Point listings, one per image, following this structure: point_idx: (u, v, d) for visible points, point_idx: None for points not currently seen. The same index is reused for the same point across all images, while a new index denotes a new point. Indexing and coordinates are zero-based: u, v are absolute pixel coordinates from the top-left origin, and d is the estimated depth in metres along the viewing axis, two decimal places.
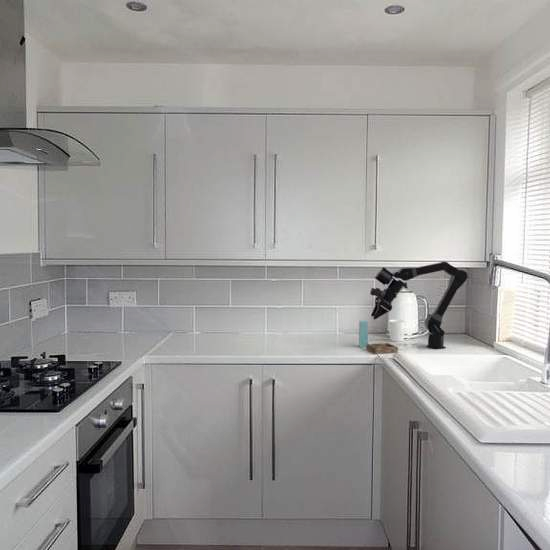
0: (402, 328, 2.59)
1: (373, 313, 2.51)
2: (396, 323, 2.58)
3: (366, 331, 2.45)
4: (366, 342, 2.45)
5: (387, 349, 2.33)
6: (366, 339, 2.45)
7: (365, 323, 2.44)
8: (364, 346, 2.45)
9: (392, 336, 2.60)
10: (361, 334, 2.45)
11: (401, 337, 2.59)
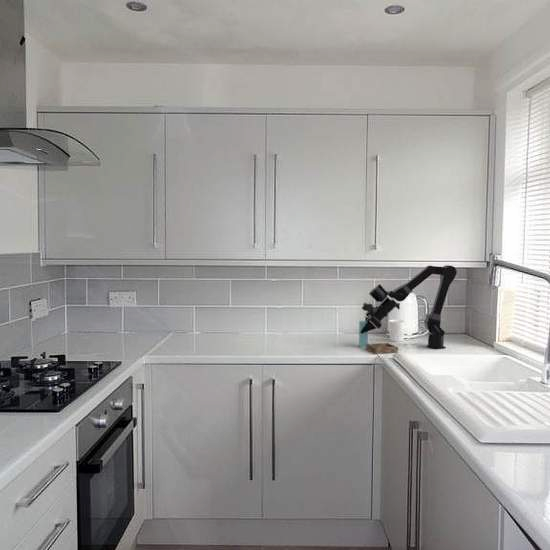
0: (402, 328, 2.59)
1: None
2: (396, 323, 2.58)
3: None
4: (366, 342, 2.45)
5: (387, 349, 2.33)
6: (365, 339, 2.45)
7: (365, 323, 2.44)
8: (364, 346, 2.45)
9: (392, 336, 2.60)
10: (361, 334, 2.45)
11: (401, 337, 2.59)
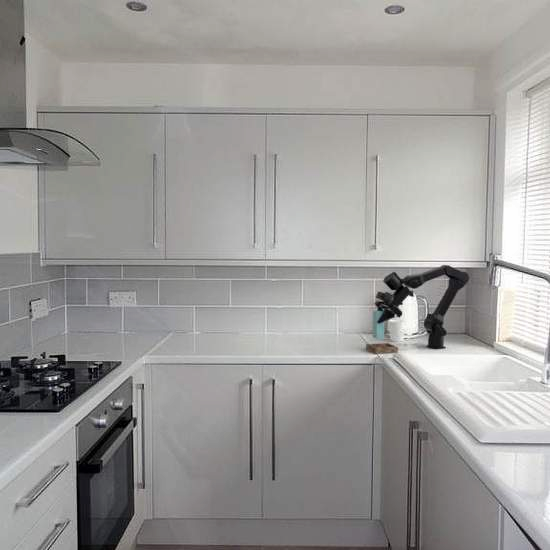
0: (402, 328, 2.59)
1: None
2: (396, 323, 2.58)
3: None
4: (383, 332, 2.35)
5: (387, 349, 2.33)
6: (382, 329, 2.35)
7: (381, 312, 2.35)
8: (381, 337, 2.35)
9: (392, 336, 2.60)
10: (378, 324, 2.35)
11: (401, 337, 2.59)
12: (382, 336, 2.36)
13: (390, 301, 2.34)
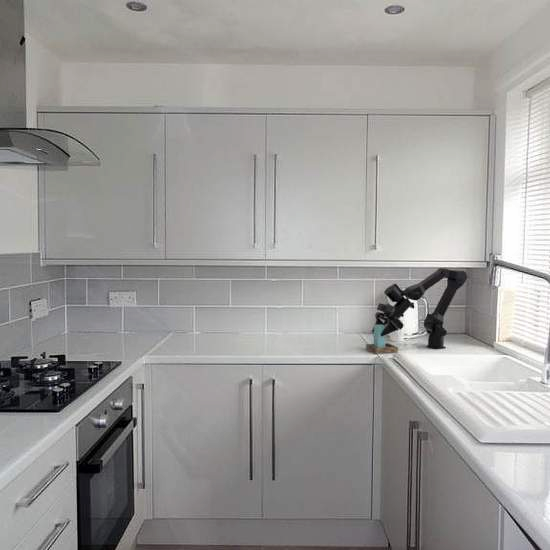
0: (402, 328, 2.59)
1: None
2: None
3: None
4: (383, 346, 2.35)
5: (387, 349, 2.33)
6: (383, 343, 2.35)
7: (383, 326, 2.35)
8: None
9: (392, 336, 2.60)
10: (379, 338, 2.34)
11: (401, 337, 2.59)
12: None
13: (391, 313, 2.34)
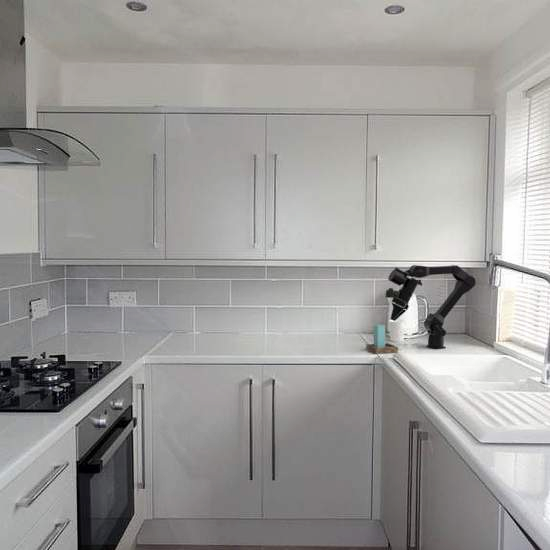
0: (402, 328, 2.59)
1: (394, 317, 2.46)
2: (396, 323, 2.58)
3: (383, 335, 2.35)
4: (383, 346, 2.35)
5: (387, 349, 2.33)
6: (383, 343, 2.35)
7: (382, 326, 2.35)
8: None
9: (392, 336, 2.60)
10: (379, 338, 2.34)
11: (401, 337, 2.59)
12: None
13: (397, 295, 2.40)
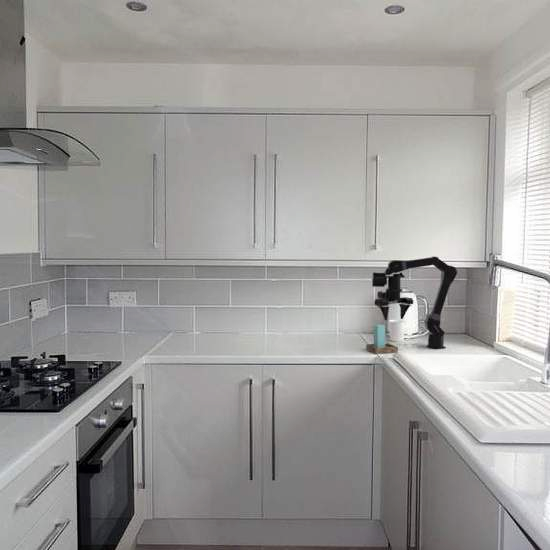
0: (402, 328, 2.59)
1: (401, 315, 2.48)
2: (396, 323, 2.58)
3: (383, 335, 2.35)
4: (383, 346, 2.35)
5: (387, 349, 2.33)
6: (383, 343, 2.35)
7: (382, 326, 2.35)
8: None
9: (392, 336, 2.60)
10: (379, 338, 2.34)
11: (401, 337, 2.59)
12: None
13: (385, 296, 2.47)
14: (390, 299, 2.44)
